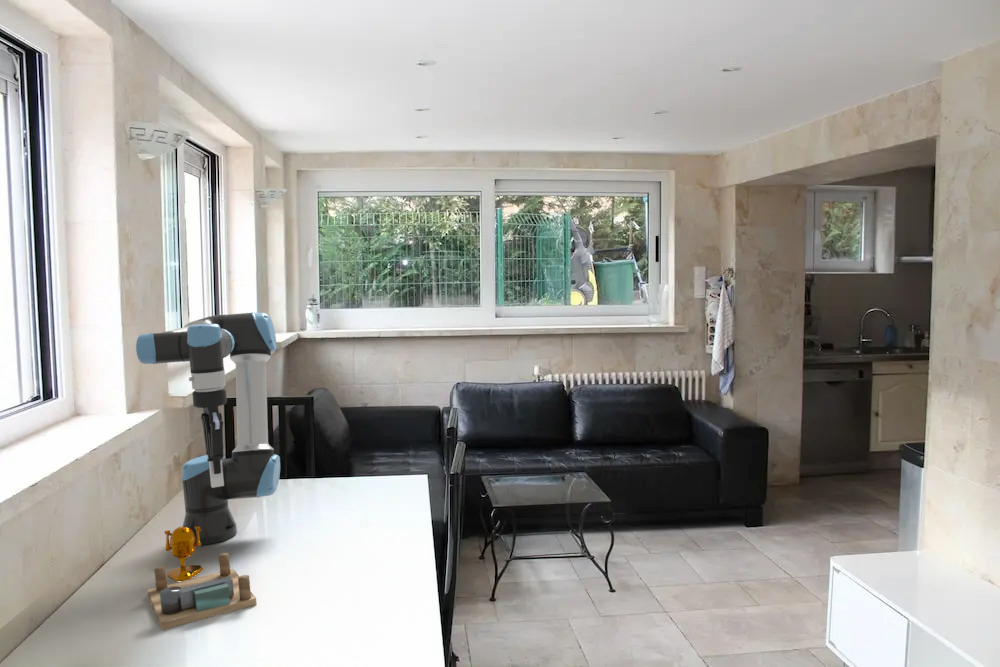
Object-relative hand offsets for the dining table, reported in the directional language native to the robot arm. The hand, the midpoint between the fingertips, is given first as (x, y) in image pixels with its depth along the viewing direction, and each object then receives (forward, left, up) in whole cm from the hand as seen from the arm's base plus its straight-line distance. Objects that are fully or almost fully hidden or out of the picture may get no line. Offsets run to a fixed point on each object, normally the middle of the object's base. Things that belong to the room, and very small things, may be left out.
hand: (217, 486), depth 190 cm
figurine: (-14, -7, -25) cm, 29 cm away
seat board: (+6, -7, -24) cm, 26 cm away
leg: (+12, -9, -23) cm, 27 cm away
